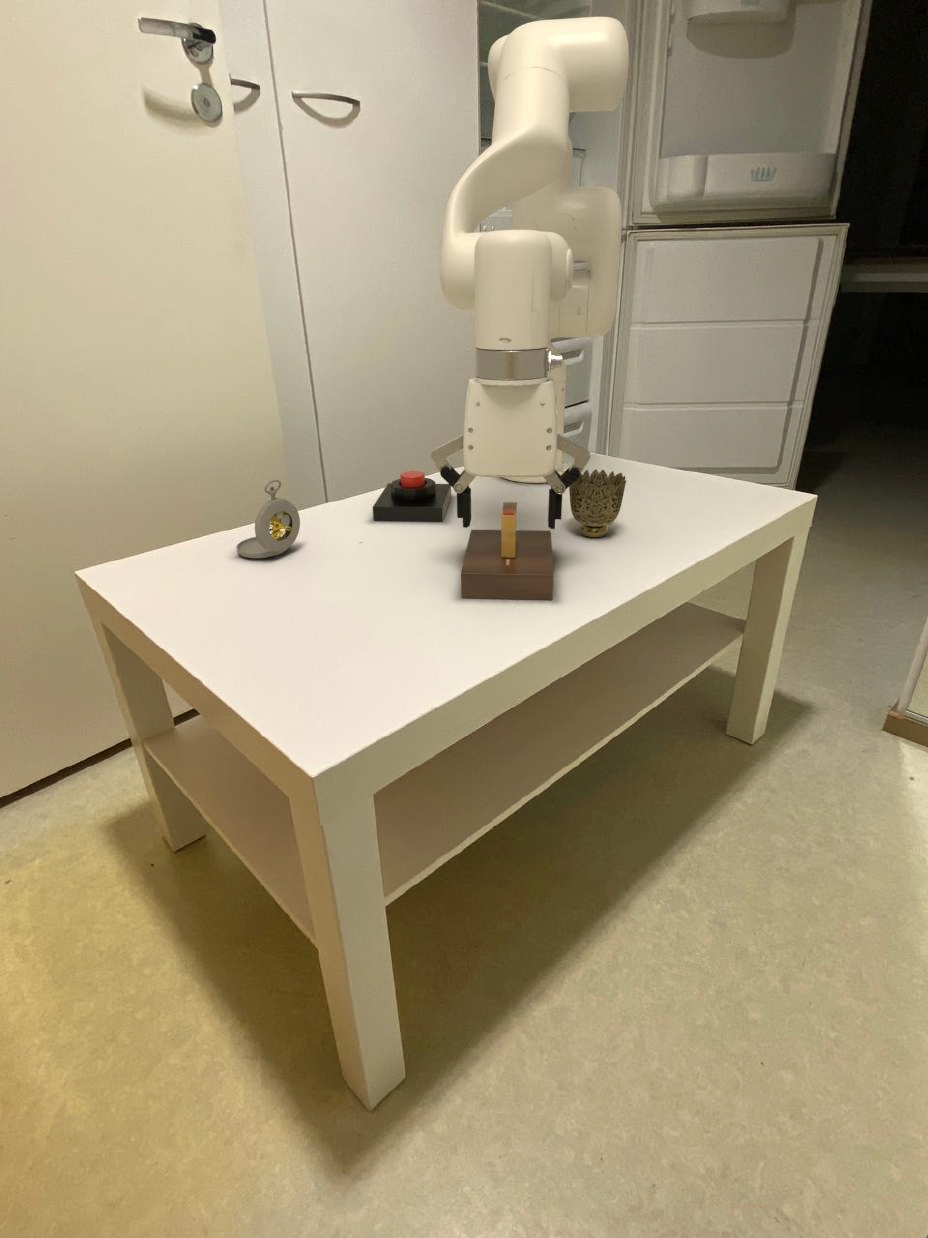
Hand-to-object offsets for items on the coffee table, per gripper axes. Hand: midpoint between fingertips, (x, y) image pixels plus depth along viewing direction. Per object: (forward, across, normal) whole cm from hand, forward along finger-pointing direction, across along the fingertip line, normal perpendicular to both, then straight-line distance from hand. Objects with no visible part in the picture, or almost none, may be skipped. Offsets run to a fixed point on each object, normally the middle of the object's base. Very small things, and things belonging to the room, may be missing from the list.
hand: (509, 524), depth 80 cm
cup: (+6, -11, -14) cm, 19 cm away
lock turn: (+3, 0, 0) cm, 3 cm away
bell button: (+2, +15, -24) cm, 29 cm away
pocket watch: (+6, +31, -5) cm, 32 cm away
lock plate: (+6, 0, 0) cm, 6 cm away
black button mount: (+6, +15, -24) cm, 29 cm away
